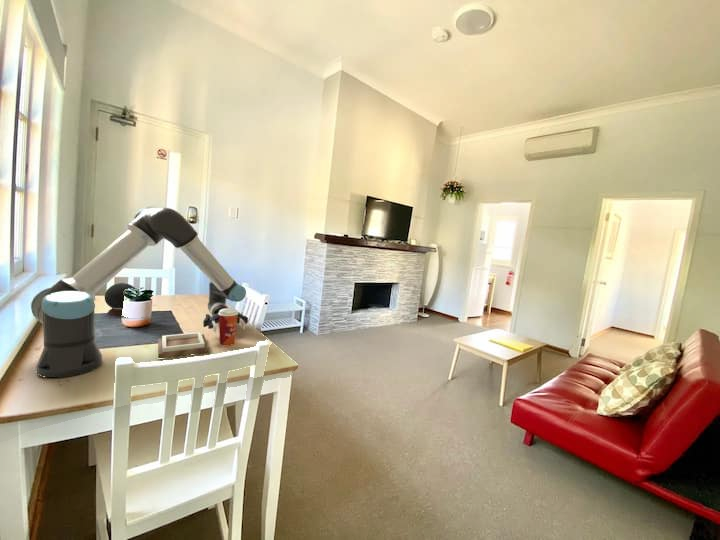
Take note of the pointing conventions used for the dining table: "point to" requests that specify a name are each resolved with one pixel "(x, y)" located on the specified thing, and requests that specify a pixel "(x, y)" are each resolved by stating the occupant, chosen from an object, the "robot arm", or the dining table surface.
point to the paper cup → (227, 325)
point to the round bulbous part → (116, 298)
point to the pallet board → (182, 345)
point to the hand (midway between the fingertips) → (230, 327)
